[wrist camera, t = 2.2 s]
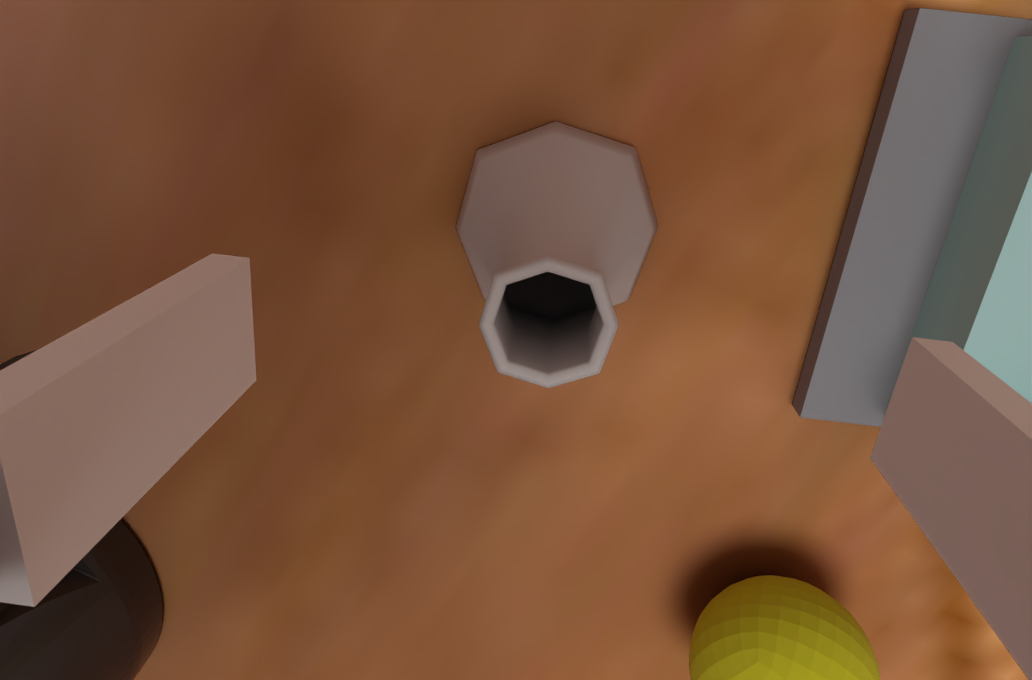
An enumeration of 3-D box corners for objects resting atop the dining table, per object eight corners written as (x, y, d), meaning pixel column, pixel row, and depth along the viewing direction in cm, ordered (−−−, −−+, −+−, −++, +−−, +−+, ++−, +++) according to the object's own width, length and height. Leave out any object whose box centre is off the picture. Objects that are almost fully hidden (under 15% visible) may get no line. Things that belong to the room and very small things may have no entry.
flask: (652, 318, 26) (697, 464, 17) (462, 318, 27) (405, 459, 17) (663, 118, 23) (724, 161, 14) (450, 122, 24) (376, 166, 15)
